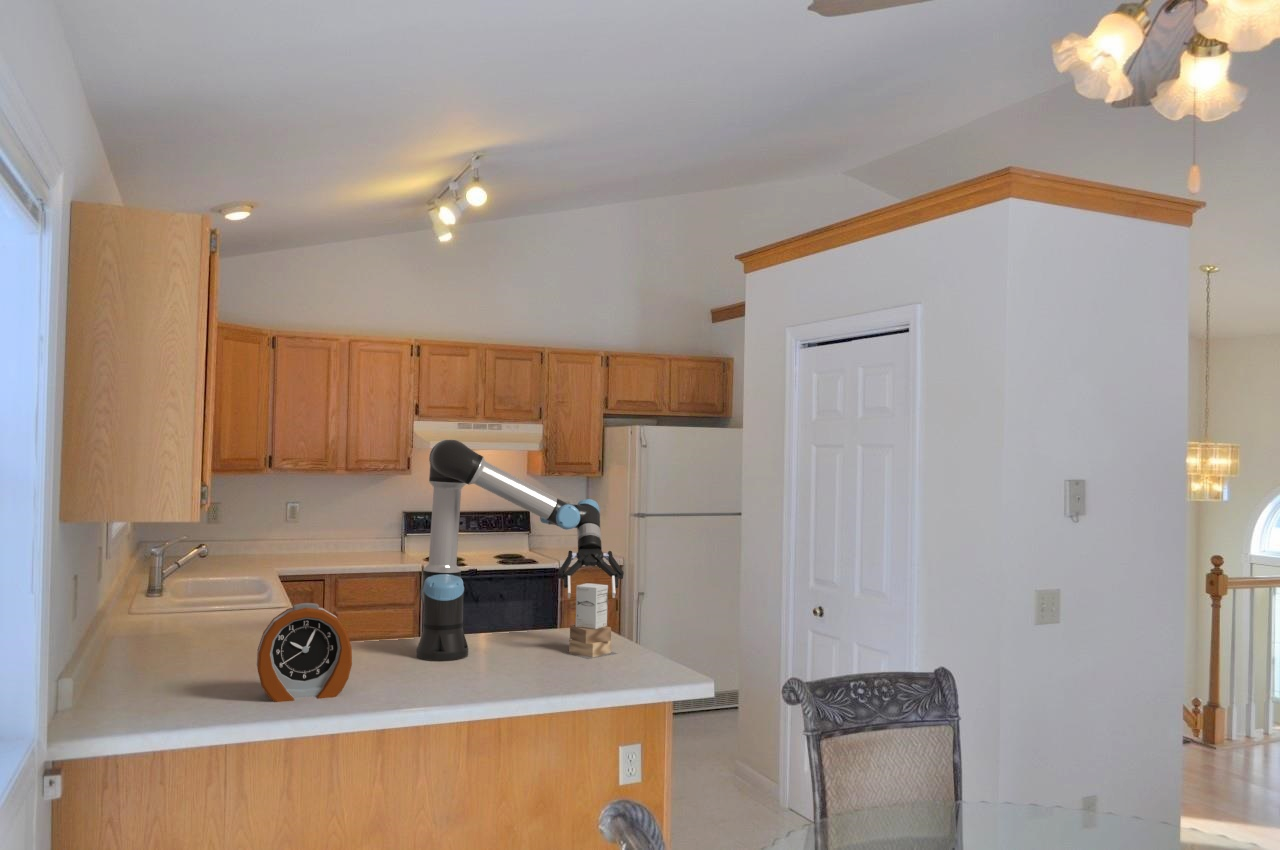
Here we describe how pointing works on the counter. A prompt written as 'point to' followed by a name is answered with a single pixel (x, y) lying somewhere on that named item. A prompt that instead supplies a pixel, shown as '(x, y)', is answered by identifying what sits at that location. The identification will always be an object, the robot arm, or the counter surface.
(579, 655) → the slate mat
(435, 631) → the robot arm
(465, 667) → the counter surface
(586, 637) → the top block
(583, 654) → the bottom block
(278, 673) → the alarm clock
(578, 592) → the supplement box
